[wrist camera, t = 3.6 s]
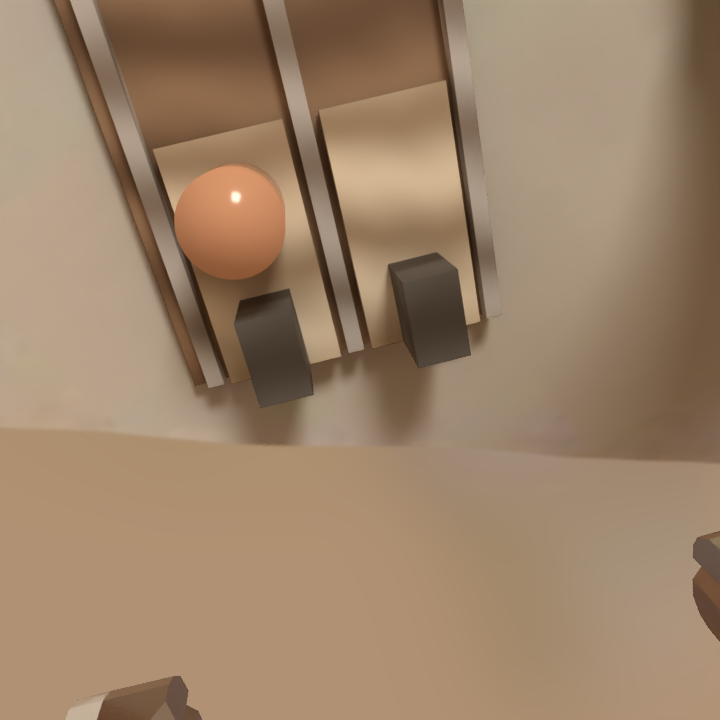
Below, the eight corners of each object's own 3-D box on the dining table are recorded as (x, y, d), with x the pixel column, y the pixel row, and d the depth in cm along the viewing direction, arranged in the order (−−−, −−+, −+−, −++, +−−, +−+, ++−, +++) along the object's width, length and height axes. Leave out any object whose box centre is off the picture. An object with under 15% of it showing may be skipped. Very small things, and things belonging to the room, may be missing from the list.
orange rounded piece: (180, 174, 31) (158, 184, 25) (271, 152, 31) (268, 157, 26) (209, 263, 33) (194, 290, 27) (295, 243, 33) (297, 265, 28)
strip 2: (317, 110, 32) (324, 107, 27) (441, 81, 32) (470, 72, 27) (370, 343, 37) (383, 377, 32) (475, 316, 37) (505, 346, 32)
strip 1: (156, 148, 31) (132, 152, 26) (282, 119, 32) (281, 117, 26) (233, 377, 37) (225, 417, 32) (340, 350, 37) (348, 385, 32)
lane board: (41, -51, 28) (24, -64, 27) (432, -139, 29) (442, -157, 27) (197, 379, 38) (193, 392, 36) (491, 306, 38) (502, 314, 37)
